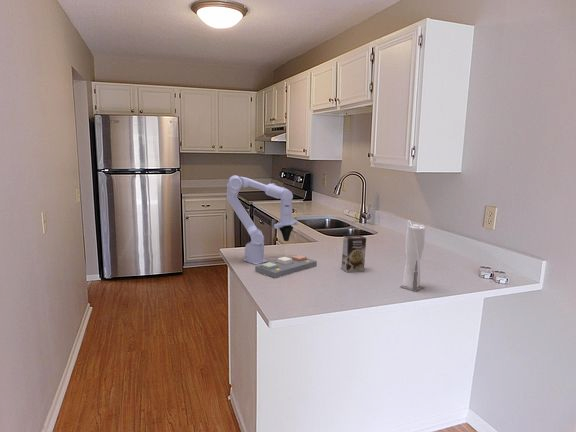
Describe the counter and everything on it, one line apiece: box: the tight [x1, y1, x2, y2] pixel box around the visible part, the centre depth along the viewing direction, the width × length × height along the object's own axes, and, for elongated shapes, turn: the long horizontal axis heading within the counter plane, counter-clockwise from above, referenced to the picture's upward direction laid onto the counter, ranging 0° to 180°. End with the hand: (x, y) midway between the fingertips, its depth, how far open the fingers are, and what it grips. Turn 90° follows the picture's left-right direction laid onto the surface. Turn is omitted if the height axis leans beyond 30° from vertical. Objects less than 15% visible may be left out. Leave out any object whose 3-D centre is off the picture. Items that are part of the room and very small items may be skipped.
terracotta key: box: [291, 254, 307, 262], centre depth 196 cm, size 5×5×3 cm
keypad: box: [254, 256, 318, 279], centre depth 188 cm, size 13×28×3 cm, turn 136°
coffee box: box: [341, 235, 367, 273], centre depth 188 cm, size 9×6×16 cm
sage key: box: [260, 261, 277, 270], centre depth 182 cm, size 5×5×3 cm
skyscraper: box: [399, 219, 426, 293], centre depth 166 cm, size 8×8×28 cm
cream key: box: [276, 256, 292, 266], centre depth 189 cm, size 5×5×3 cm
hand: (286, 240), depth 199 cm, fingers closed
